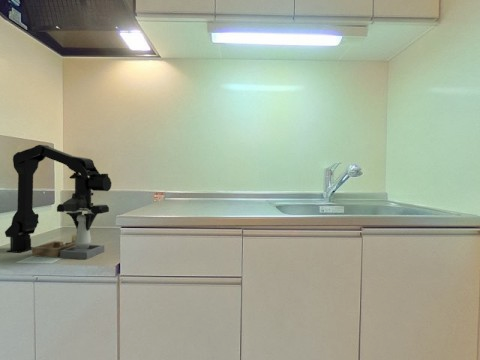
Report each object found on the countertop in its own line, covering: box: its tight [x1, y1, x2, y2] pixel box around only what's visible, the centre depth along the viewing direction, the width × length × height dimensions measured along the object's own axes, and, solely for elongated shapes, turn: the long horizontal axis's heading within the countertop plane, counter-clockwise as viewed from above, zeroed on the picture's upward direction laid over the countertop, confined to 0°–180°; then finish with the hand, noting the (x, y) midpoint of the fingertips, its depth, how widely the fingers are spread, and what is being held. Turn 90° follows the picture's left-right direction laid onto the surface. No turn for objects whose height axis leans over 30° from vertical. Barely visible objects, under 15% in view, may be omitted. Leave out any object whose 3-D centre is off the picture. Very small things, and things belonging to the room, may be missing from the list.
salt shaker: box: [75, 214, 92, 249], centre depth 119 cm, size 6×6×13 cm
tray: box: [59, 244, 105, 260], centre depth 119 cm, size 11×11×2 cm
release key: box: [61, 234, 76, 247], centre depth 129 cm, size 3×9×4 cm, turn 171°
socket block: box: [31, 240, 75, 258], centre depth 121 cm, size 11×11×3 cm
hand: (83, 230), depth 119 cm, fingers closed on salt shaker, 3 cm apart
